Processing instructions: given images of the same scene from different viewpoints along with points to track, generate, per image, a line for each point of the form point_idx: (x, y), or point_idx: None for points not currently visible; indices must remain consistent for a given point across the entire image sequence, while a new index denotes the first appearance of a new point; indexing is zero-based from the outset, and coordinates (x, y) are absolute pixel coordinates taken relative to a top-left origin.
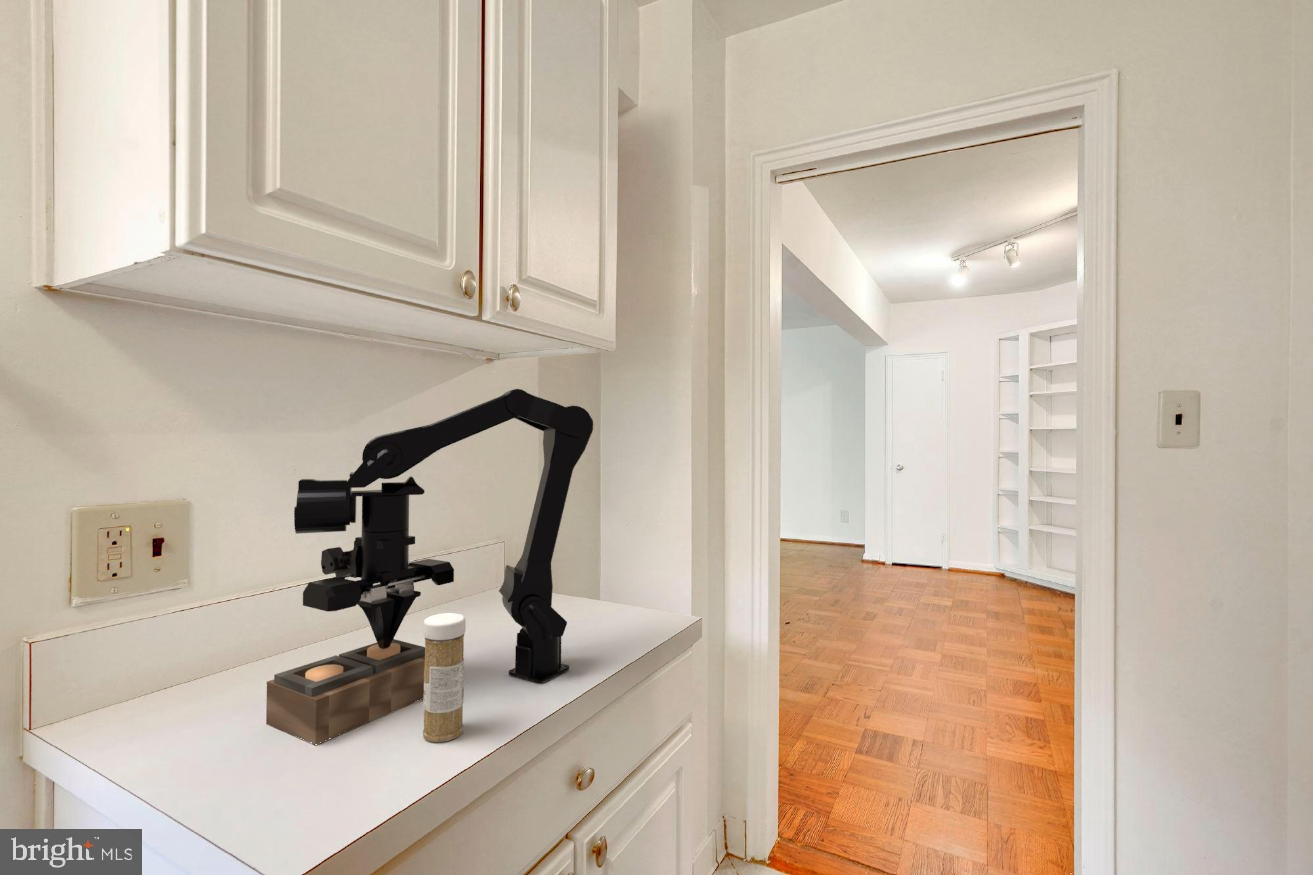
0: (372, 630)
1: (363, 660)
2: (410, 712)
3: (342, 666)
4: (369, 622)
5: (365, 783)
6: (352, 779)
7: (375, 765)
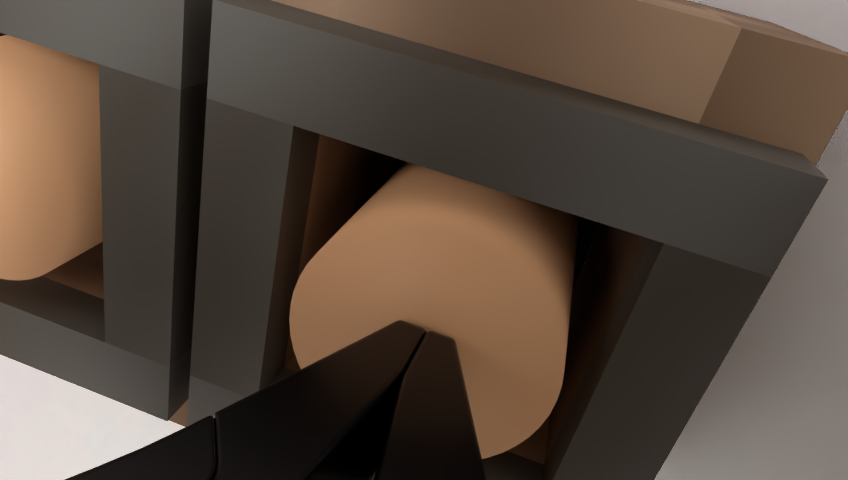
0: (277, 382)
1: (211, 304)
2: None
3: (71, 237)
4: (184, 432)
5: (37, 465)
6: (29, 431)
7: (94, 451)
